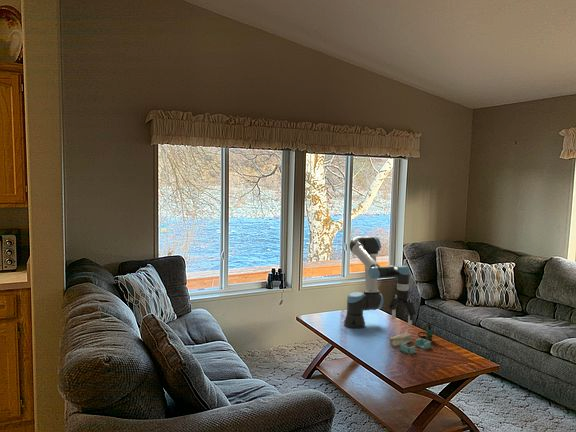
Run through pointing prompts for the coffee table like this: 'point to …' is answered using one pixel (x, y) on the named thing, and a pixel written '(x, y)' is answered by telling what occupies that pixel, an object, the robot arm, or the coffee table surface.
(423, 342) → the cap
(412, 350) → the cap
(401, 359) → the coffee table surface
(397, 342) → the beige long bar
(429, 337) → the binoculars
